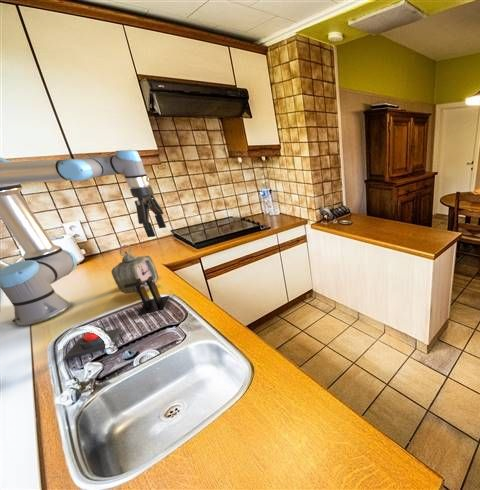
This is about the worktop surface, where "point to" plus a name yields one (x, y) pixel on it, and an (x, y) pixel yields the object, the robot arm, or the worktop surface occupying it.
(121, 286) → the tabletop clock
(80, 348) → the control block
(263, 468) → the worktop surface
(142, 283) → the lever
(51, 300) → the robot arm
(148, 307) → the bracket
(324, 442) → the worktop surface
